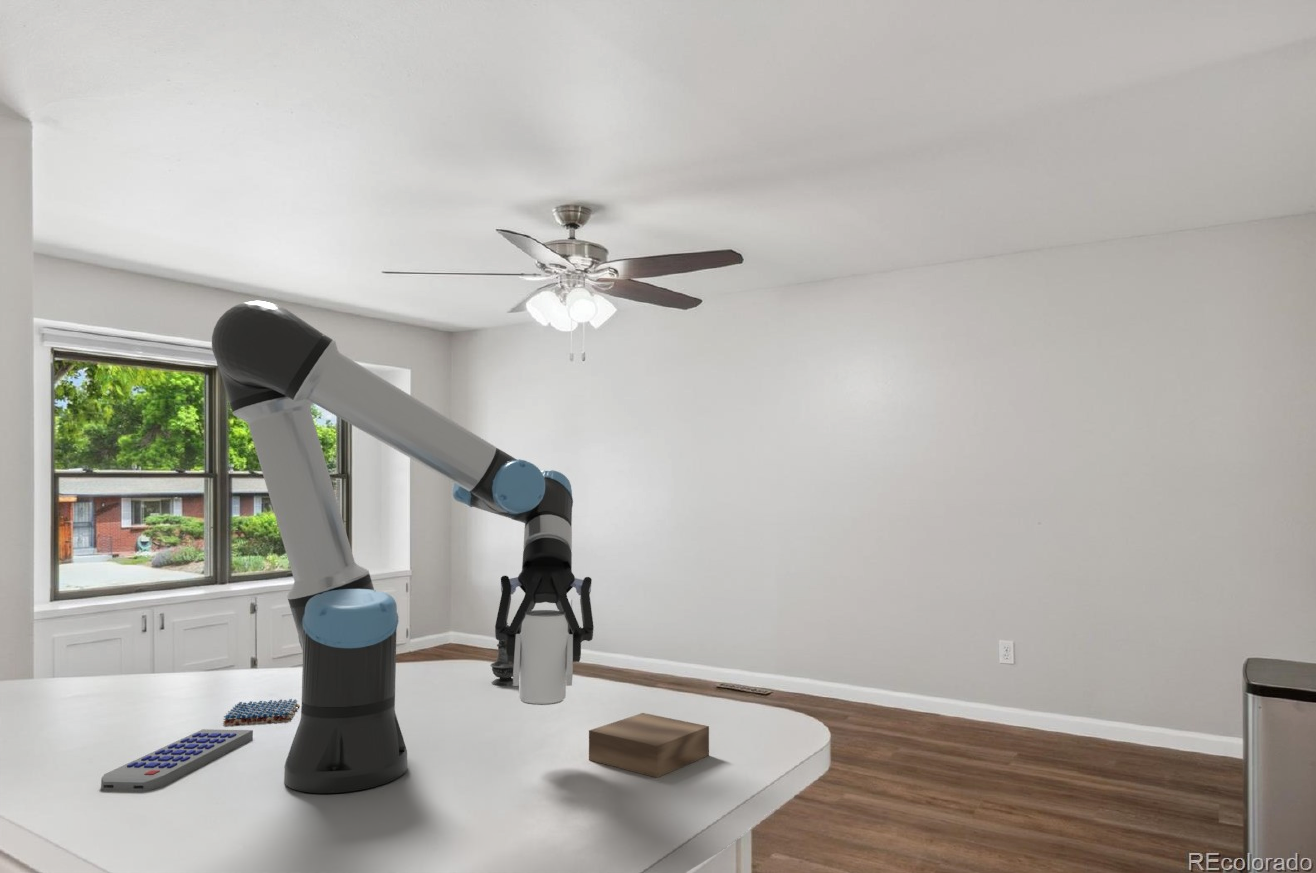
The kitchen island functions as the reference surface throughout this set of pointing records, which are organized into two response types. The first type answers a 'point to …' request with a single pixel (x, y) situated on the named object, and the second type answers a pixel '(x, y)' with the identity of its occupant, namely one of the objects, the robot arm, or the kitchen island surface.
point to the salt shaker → (502, 666)
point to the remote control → (174, 760)
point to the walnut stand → (649, 744)
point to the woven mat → (261, 712)
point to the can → (543, 657)
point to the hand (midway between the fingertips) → (542, 679)
